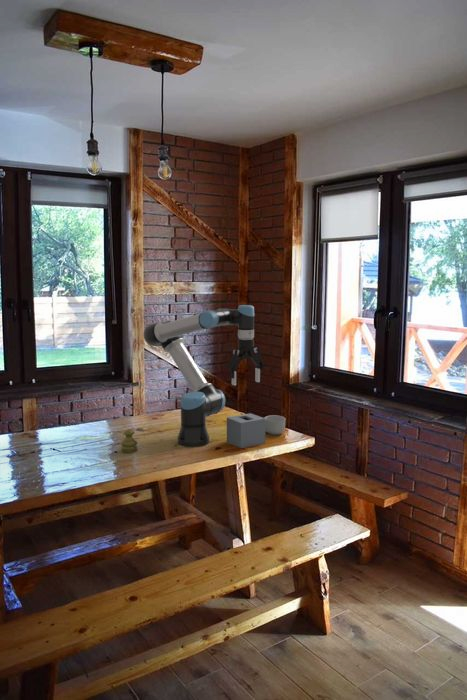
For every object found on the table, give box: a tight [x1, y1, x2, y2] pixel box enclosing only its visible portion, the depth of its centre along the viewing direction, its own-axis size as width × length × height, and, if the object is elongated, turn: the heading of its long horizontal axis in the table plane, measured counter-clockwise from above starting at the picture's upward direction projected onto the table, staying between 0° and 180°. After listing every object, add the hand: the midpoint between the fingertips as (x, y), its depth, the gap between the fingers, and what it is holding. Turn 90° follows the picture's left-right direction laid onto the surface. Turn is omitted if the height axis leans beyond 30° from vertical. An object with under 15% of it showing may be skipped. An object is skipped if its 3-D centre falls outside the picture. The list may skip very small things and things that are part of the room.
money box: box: [226, 412, 266, 449], centre depth 276 cm, size 14×12×12 cm
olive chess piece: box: [120, 428, 138, 454], centre depth 263 cm, size 7×7×10 cm
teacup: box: [264, 414, 286, 436], centre depth 292 cm, size 14×11×8 cm
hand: (245, 383), depth 273 cm, fingers open, 13 cm apart
